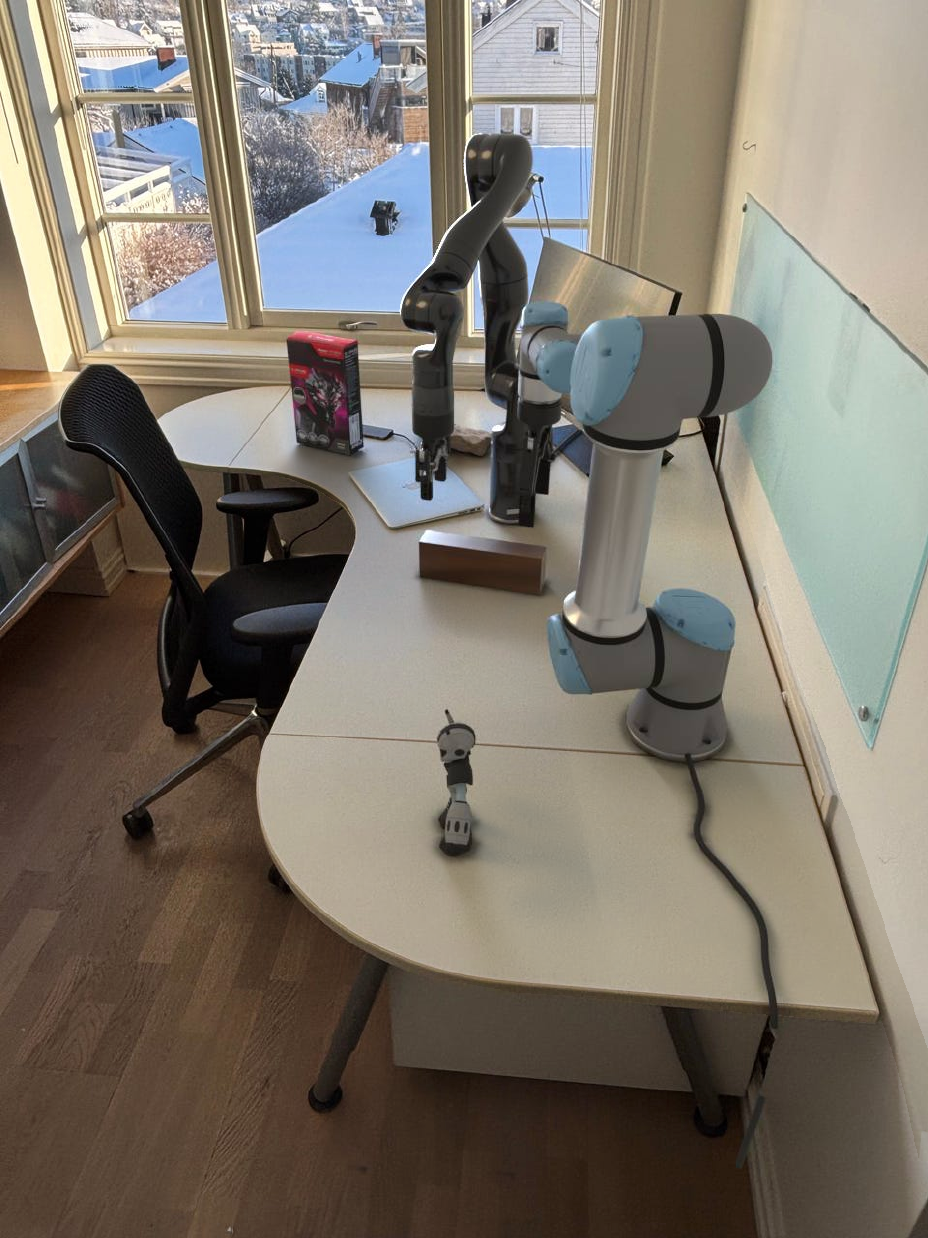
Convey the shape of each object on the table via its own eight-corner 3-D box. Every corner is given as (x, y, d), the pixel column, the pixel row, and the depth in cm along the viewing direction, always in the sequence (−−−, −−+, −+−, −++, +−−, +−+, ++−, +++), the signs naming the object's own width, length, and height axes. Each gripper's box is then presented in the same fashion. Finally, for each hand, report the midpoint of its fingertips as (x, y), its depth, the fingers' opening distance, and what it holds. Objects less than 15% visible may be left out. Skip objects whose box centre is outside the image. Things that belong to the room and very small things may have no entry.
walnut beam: (539, 595, 175) (542, 559, 171) (419, 577, 181) (418, 541, 176) (544, 582, 179) (547, 546, 175) (427, 564, 185) (426, 529, 180)
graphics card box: (294, 443, 234) (283, 336, 218) (310, 434, 239) (300, 328, 224) (350, 457, 227) (343, 347, 212) (366, 447, 232) (360, 339, 217)
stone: (397, 439, 228) (402, 416, 226) (416, 430, 242) (421, 408, 239) (477, 464, 225) (483, 440, 222) (491, 454, 238) (497, 431, 236)
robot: (478, 890, 117) (481, 774, 106) (439, 891, 117) (438, 775, 106) (469, 781, 133) (471, 671, 122) (436, 782, 133) (434, 671, 122)
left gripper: (441, 423, 156) (442, 509, 165) (464, 395, 168) (463, 476, 177) (399, 418, 158) (402, 503, 167) (424, 390, 170) (426, 471, 179)
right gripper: (547, 426, 146) (540, 544, 158) (574, 375, 166) (566, 483, 178) (501, 421, 148) (498, 538, 159) (533, 371, 168) (528, 478, 179)
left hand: (433, 489), depth 172 cm, fingers open, 8 cm apart
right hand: (533, 509), depth 169 cm, fingers open, 13 cm apart
